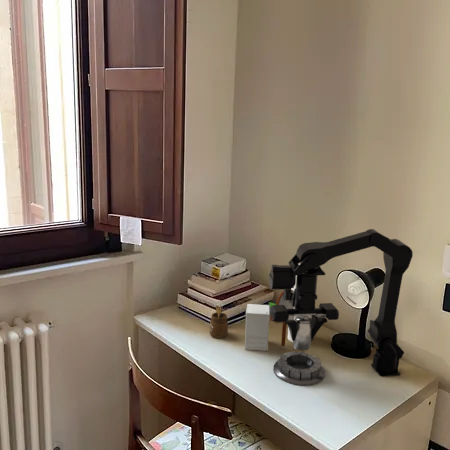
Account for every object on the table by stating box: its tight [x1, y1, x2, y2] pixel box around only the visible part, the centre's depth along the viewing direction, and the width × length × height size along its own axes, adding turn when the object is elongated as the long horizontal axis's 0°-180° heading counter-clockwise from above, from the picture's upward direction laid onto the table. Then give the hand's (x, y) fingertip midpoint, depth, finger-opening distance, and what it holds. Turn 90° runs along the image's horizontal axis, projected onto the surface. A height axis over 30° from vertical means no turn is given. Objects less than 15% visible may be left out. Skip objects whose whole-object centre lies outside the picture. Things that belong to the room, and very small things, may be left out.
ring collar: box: [272, 351, 326, 387], centre depth 150 cm, size 15×15×3 cm
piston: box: [292, 315, 313, 351], centre depth 147 cm, size 5×5×9 cm
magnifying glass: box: [275, 289, 294, 349], centre depth 161 cm, size 9×2×20 cm, turn 132°
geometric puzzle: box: [266, 299, 277, 321], centre depth 184 cm, size 7×7×8 cm
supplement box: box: [244, 303, 271, 352], centre depth 163 cm, size 7×7×13 cm
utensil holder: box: [209, 301, 229, 339], centre depth 169 cm, size 6×6×12 cm
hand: (302, 339), depth 148 cm, fingers closed on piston, 5 cm apart
